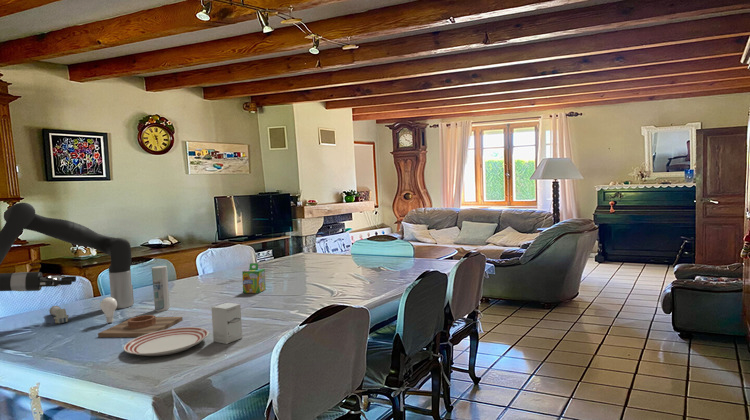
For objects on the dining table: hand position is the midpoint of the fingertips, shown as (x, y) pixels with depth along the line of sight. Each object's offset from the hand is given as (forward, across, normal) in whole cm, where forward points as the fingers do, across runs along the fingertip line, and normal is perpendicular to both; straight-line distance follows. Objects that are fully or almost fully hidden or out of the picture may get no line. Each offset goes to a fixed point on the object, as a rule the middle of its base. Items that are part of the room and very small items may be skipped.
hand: (73, 280), depth 199 cm
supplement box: (+57, -51, +16) cm, 78 cm away
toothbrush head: (-9, +23, +20) cm, 32 cm away
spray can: (+34, +13, +17) cm, 40 cm away
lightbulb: (+14, 0, +19) cm, 23 cm away
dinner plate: (+37, -47, +18) cm, 63 cm away
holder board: (+27, -16, +18) cm, 36 cm away
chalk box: (+78, +28, +12) cm, 83 cm away
